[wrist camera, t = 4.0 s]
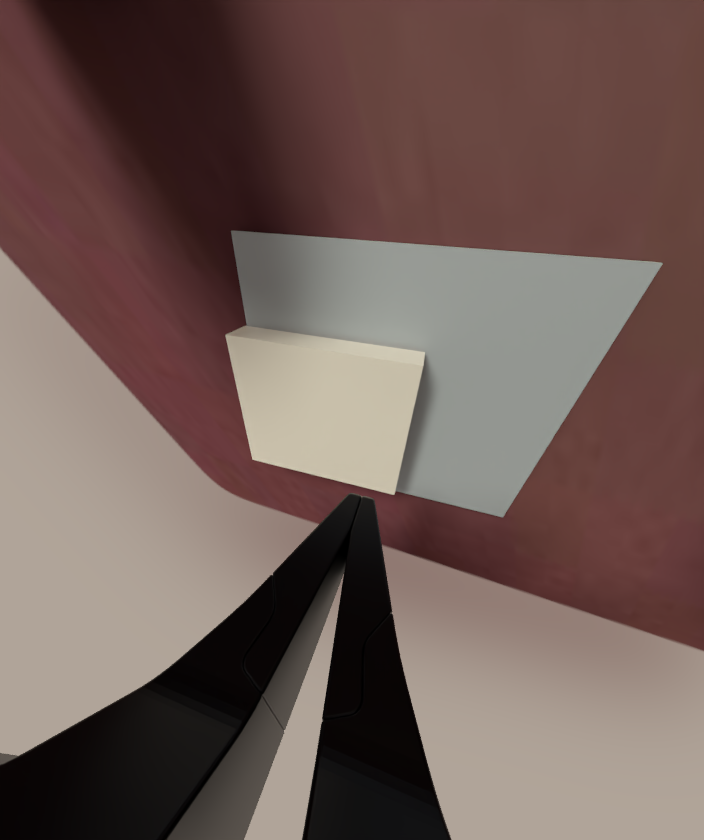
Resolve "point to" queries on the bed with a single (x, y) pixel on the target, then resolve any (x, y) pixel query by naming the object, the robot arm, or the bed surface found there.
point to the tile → (326, 403)
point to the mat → (455, 341)
